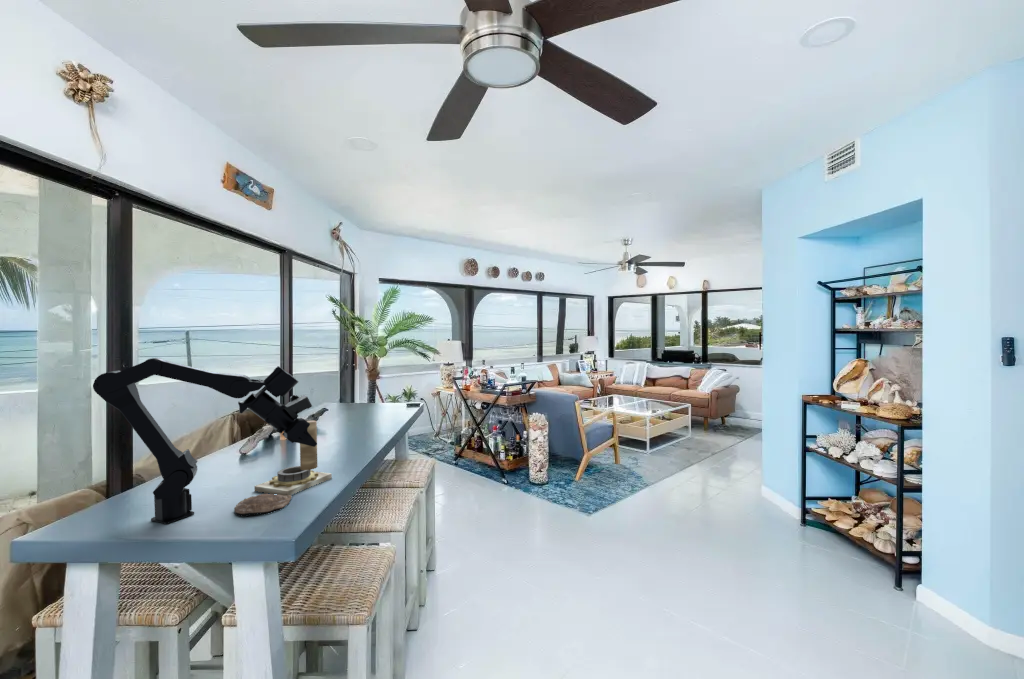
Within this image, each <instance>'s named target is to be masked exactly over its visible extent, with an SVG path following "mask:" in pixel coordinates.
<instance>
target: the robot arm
mask: <svg viewBox="0 0 1024 679" xmlns="http://www.w3.org/2000/svg"><path fill="white" fill-rule="evenodd" d="M152 376H159V377H163V378H167V379H172V380H176V381H181V382H185V383H188V384H194V385H198V386H202V387H203V386H204V387H207V388H209V389H212V390H215V391H216V392H219V393H220V394H223V395H225V396H227V397H231V398H234V399H242V398H245V397H246V396H248V397H246V399H244V400H239V401H238V402H237V403H238V406H239V408H238V412H239V414H243V413H244V412H246V410H247V409H248V410H250V411H251V412H253V414H255V415H256V416H257V417H259V418H260V419H262V420H263V421H264V422H266V423H267V424H269V425H270V426H271V427H272V429H273V430H275V431H276V432H277V433H279V434H281V435H282V436H283V437H284V438H285V439H286V440H288V441H289V442H291V443H292V444H294V443H295V444H296V443H297V444H299V445H300V444H305V445H309V446H313V447H315V446H316V445H317V446H318V442H317V443H316V441H315V440H314V439H313V438H312V436H311V435H310V434H309V432H308V431H307V428H308V427H309V425H310V423H308V422H307V421H308V420H306V419H304V418H302V417H300V418H299V415H298V414H300V413H302V412H304V411H305V410H308V409H310V408H312V407H313V405H312V403H311V401H310V399H309V397H308V396H307V395H306V394H305V395H304V394H303V395H300V396H299V395H296V394H293V395H291V396H289V401H288V402H287V403H286V404H283V403H282V402H279V401H278V400H276V399H275V398H279V397H282V398H283V397H284V396H286V395H287V394H288V393H289V392H290V391H291V390H292V389H293V388H294V387H295V386H296V385H297V384H299V381H298V379H296V378H295V377H294V376H293V375H292V374H290V372H287V371H286V370H285V369H283V368H282V367H281V366H280V365H279V366H277V367H275V368H274V369H273V371H272V372H271V373H270V374H269V375H268V376H266V378H264V379H260V378H259V379H253V378H250V377H249V376H248V375H245V374H239V373H226V372H214V371H209V370H205V369H202V368H197V367H193V366H189V365H184V364H180V363H177V362H173V361H168V360H165V359H162V358H160V357H152V358H148V359H146V360H144V361H143V362H141V363H138V364H136V365H132V366H131V367H127V368H126V369H123V370H113V371H107V372H104V373H101V374H99V375H98V376H96V378H95V379H94V380H93V384H92V389H93V391H94V393H96V394H97V395H98V396H99V397H100V398H101V399H102V400H104V402H106V403H107V404H108V405H110V406H112V407H113V408H115V409H116V410H118V411H119V412H120V413H121V414H122V416H123V417H124V418H125V420H126V421H127V423H129V424H130V426H131V427H132V430H134V431H135V433H136V434H137V436H138V437H139V438H140V439H141V440H142V442H143V444H144V445H145V446H146V447H147V449H148V450H149V451H150V452H151V454H152V455H153V456H154V458H155V459H156V462H157V465H158V469H159V473H160V474H161V476H162V480H161V481H160V483H159V484H158V485H157V486H156V488H155V489H154V490H153V491H152V494H153V498H154V499H153V500H154V501H153V502H154V503H153V504H154V516H153V517H151V518H150V521H151V522H154V523H161V524H165V525H167V524H171V523H173V522H174V523H175V522H176V521H178V520H183V519H185V518H187V517H190V516H192V515H194V514H195V511H192V510H193V508H192V507H193V505H192V504H193V503H192V494H191V493H190V488H186V487H188V486H189V485H190V484H191V483H192V482H193V480H194V478H195V476H196V475H197V473H198V465H197V463H198V462H199V461H198V460H197V459H195V458H194V457H193V456H192V453H191V451H190V450H189V449H186V450H184V451H181V450H179V449H178V448H177V447H176V446H175V445H174V444H173V442H172V440H170V438H169V437H168V436H167V435H166V433H165V431H163V429H162V427H161V426H160V424H158V422H157V421H156V420H155V418H154V417H153V416H152V414H151V413H150V411H149V410H148V409H147V407H146V406H145V405H144V403H143V402H142V400H141V398H140V393H139V389H138V387H137V385H136V384H137V383H139V382H141V381H143V380H146V379H147V378H151V377H152ZM255 391H258V392H257V393H253V392H255ZM251 392H252V393H251ZM267 392H268V393H267ZM250 393H251V394H250ZM269 393H270V394H271V395H272V396H273V397H272V396H271V395H270V394H269ZM249 394H250V395H249ZM274 397H275V398H274Z"/></svg>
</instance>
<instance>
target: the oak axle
mask: <svg viewBox="0 0 1024 679" xmlns="http://www.w3.org/2000/svg"><path fill="white" fill-rule="evenodd" d="M306 421H307V422H308V423H310V425H309V427H308V428H307V431H308V432H309V434H310V435H311V436H312V438H313V439H314V440H315V441H316V443H317V445H316V446H315V447H313V446H309V445H305V444H300V443H299V451H300V452H299V457H300V458H299V462H300V463H299V466H300V469H301V470H314V469H317V468H318V434H317V433H318V427H317V426H318V425H317V420H306Z"/></svg>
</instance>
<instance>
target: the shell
mask: <svg viewBox="0 0 1024 679" xmlns="http://www.w3.org/2000/svg"><path fill="white" fill-rule="evenodd" d="M291 499H292V495H274V494H268V493H262V494H257V495H253V496H250V497H247V498H244V499H243V500H241V501H239V502H238V503H236V505H235V506H234V508H233V509H234V510H233V511H234V515H236V516H238V517H243V518H245V517H248V516H250V517H251V516H253V517H254V516H258V515H263V516H264V514H265V515H269V514H268V513H270V514H272V513H274V511H275V512H278V511H281V510H282V508H283V509H285V508H286V507H287V506H288V505H289V504H290V503H291ZM289 502H290V503H289ZM286 505H287V506H286ZM285 506H286V507H285ZM284 507H285V508H284ZM280 509H281V510H280ZM271 512H272V513H271Z"/></svg>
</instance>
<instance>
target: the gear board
mask: <svg viewBox="0 0 1024 679" xmlns="http://www.w3.org/2000/svg"><path fill="white" fill-rule="evenodd" d="M276 473H277V475H274V476H273V477H271V479H270V480H267V481H264V482H262V483H258V484H256V485H254V486H253V487H254V492H256V491H258V493H262V492H264V493H263V494H268V493H270V494H277V495H291V496H293V495H295V494H298V493H300V492H302V490H303V491H305V490H307V489H309V487H310V488H312V487H315V486H317V485H320V484H322V483H324V482H326V480H327V481H330V480H332V479H333V478H332V477H333V476H332V472H331V473H330V472H321V471H315V470H313V469H311V470H301V469H300V465H295V466H289V467H285V468H282V469H280V470H278V471H277V472H276ZM331 478H332V479H331ZM321 482H322V483H321ZM319 483H320V484H319ZM316 484H317V485H316ZM314 485H315V486H314ZM311 486H312V487H311ZM306 488H307V489H306ZM304 489H305V490H304ZM299 491H300V492H299ZM297 492H298V493H297ZM294 493H295V494H294ZM292 494H293V495H292Z"/></svg>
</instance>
